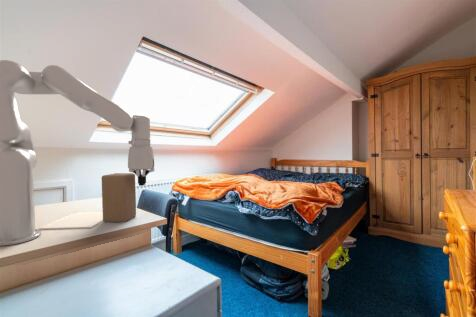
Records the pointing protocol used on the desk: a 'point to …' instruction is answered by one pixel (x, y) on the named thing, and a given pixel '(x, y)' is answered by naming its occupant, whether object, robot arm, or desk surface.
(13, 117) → the robot arm
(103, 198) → the block
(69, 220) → the mat
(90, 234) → the desk surface
